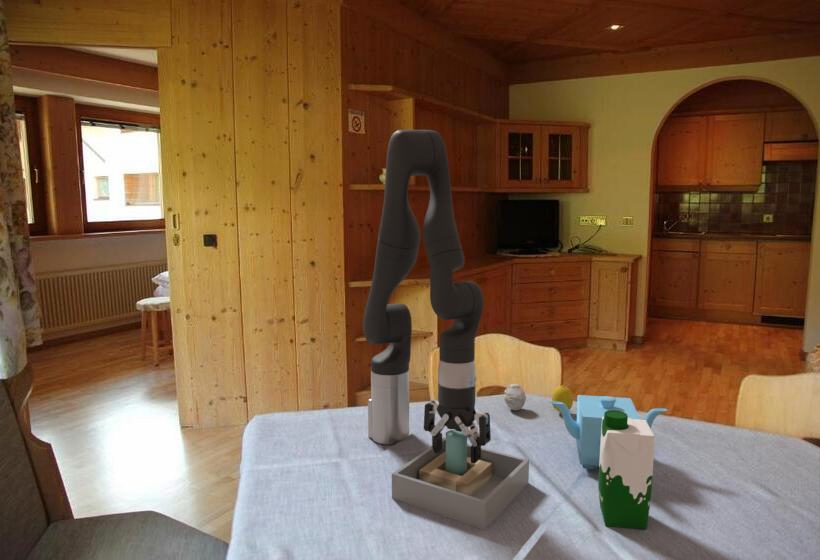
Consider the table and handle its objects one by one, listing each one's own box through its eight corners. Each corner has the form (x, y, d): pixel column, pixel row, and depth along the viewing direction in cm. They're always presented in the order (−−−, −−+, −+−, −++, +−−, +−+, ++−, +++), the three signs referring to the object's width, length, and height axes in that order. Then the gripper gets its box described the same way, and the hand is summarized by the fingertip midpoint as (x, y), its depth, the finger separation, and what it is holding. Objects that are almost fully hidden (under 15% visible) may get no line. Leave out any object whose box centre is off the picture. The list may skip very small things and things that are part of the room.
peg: (441, 481, 122) (441, 435, 121) (451, 473, 126) (452, 428, 125) (460, 487, 120) (460, 440, 118) (470, 478, 124) (471, 432, 122)
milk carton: (594, 503, 116) (599, 404, 113) (643, 507, 114) (649, 407, 111) (600, 528, 107) (605, 422, 104) (653, 533, 106) (660, 426, 103)
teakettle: (598, 437, 146) (601, 379, 144) (668, 466, 131) (672, 402, 129) (544, 456, 136) (545, 394, 134) (612, 490, 121) (616, 421, 118)
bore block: (419, 484, 122) (419, 470, 121) (446, 463, 131) (446, 450, 130) (467, 499, 116) (467, 484, 115) (491, 476, 125) (492, 462, 124)
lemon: (573, 418, 159) (574, 389, 157) (551, 416, 160) (552, 388, 158) (571, 410, 164) (572, 382, 163) (551, 409, 165) (551, 381, 164)
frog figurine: (520, 404, 169) (521, 380, 168) (529, 413, 162) (530, 388, 161) (500, 405, 168) (500, 381, 167) (508, 414, 161) (509, 390, 160)
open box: (391, 502, 116) (391, 473, 115) (443, 463, 133) (443, 437, 132) (484, 534, 105) (485, 503, 104) (528, 487, 122) (529, 459, 121)
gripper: (416, 379, 121) (417, 455, 123) (480, 392, 113) (479, 473, 115) (435, 370, 127) (435, 442, 129) (497, 381, 119) (495, 458, 121)
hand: (456, 456), depth 122 cm, fingers open, 8 cm apart
